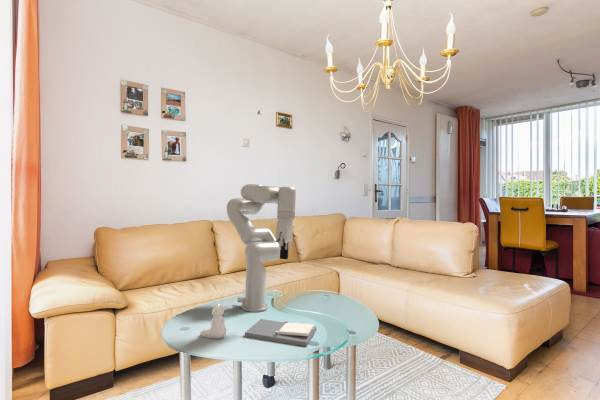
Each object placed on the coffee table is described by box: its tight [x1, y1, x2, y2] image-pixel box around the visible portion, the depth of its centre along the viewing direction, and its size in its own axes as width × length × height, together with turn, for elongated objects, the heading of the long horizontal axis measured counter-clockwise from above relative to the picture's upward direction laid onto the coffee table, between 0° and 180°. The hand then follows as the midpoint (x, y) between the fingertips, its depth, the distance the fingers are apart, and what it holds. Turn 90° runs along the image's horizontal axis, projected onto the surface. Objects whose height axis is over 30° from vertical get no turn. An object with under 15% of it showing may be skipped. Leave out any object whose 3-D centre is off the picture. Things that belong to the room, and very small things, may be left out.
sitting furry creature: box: [199, 303, 228, 340], centre depth 123 cm, size 10×9×12 cm
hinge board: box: [244, 318, 317, 347], centre depth 128 cm, size 24×16×3 cm, turn 75°
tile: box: [279, 322, 315, 336], centre depth 126 cm, size 11×10×1 cm
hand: (283, 258), depth 140 cm, fingers closed
